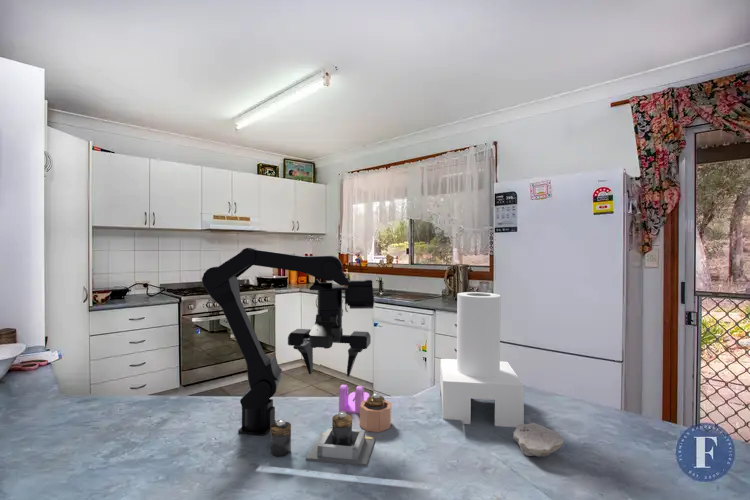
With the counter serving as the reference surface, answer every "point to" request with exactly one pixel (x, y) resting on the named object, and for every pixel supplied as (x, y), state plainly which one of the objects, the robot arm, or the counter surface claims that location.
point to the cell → (342, 429)
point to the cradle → (342, 449)
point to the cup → (375, 417)
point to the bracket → (351, 399)
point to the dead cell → (375, 402)
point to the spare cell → (280, 438)
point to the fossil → (537, 439)
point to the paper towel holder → (480, 365)
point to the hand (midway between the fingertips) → (329, 375)
